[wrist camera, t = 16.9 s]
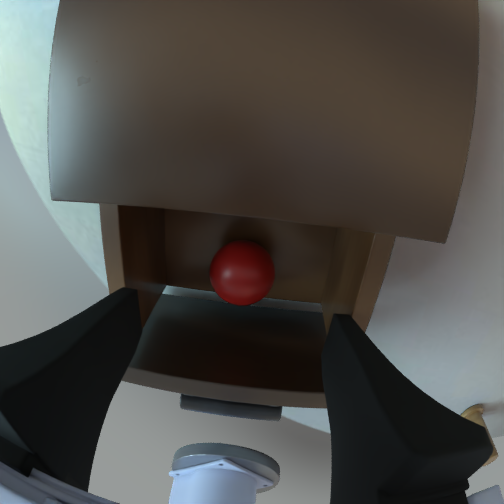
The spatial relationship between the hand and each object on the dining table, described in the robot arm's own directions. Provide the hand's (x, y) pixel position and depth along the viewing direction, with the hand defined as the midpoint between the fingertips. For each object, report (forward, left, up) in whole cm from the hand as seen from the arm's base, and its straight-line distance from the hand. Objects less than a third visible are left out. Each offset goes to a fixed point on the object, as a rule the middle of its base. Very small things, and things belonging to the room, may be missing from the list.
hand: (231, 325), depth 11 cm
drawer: (0, -1, -6) cm, 6 cm away
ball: (0, 0, -5) cm, 5 cm away
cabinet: (+8, +8, -7) cm, 13 cm away
